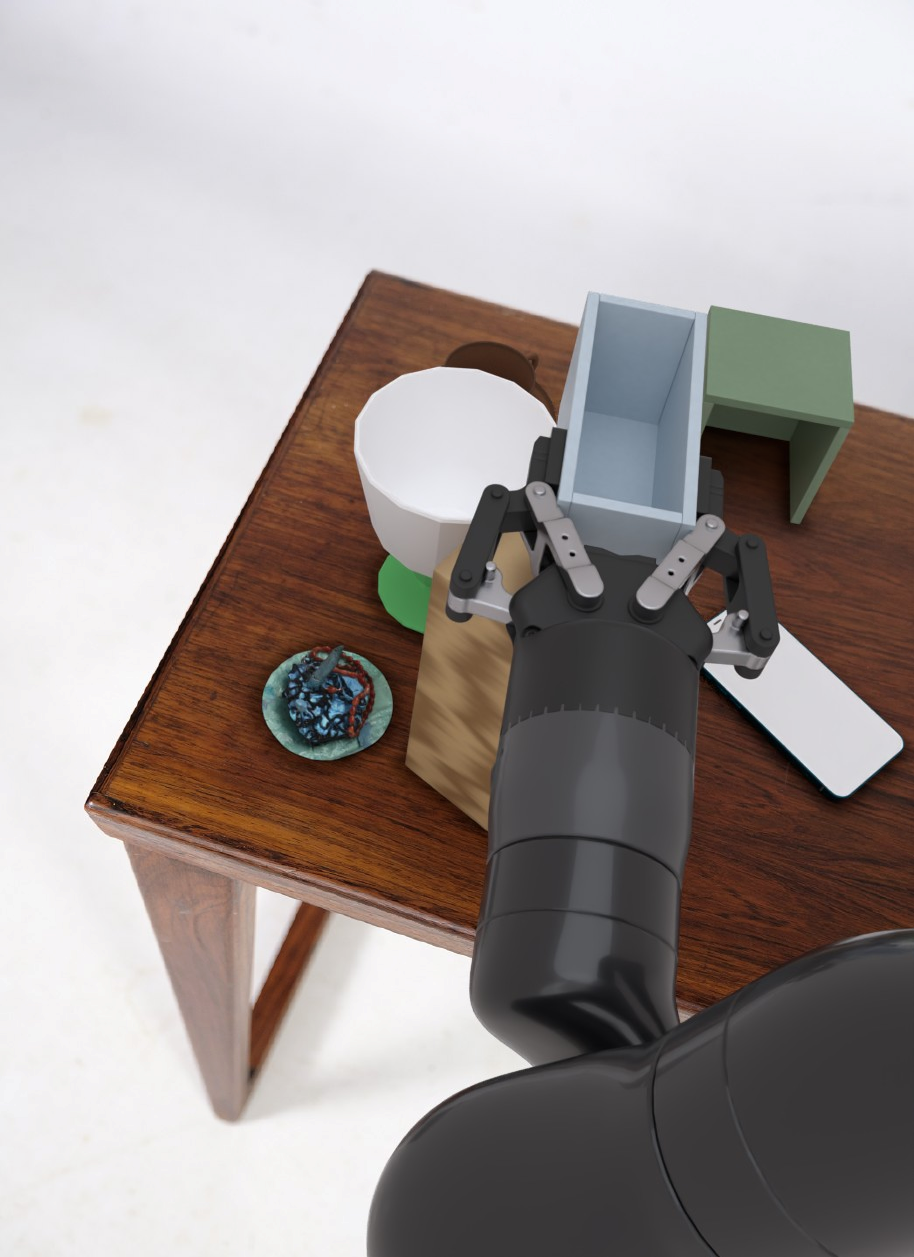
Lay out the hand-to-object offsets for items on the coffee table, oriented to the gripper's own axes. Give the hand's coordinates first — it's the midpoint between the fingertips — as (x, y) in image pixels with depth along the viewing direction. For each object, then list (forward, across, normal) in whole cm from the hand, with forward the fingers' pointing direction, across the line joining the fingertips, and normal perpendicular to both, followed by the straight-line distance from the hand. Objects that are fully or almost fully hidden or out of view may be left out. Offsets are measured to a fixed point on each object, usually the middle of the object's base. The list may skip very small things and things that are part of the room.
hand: (626, 455), depth 55 cm
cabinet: (+32, -14, +32) cm, 47 cm away
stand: (+1, +1, +32) cm, 32 cm away
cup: (+14, +8, +32) cm, 36 cm away
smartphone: (+10, -18, +32) cm, 38 cm away
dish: (+3, +14, +32) cm, 35 cm away
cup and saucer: (+31, +8, +32) cm, 45 cm away
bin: (+2, 0, +6) cm, 7 cm away
